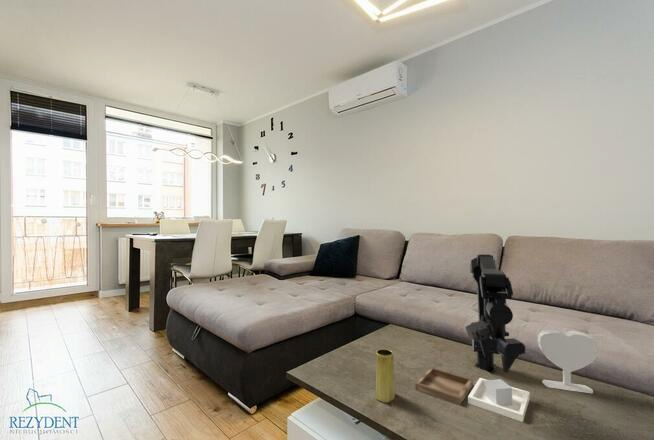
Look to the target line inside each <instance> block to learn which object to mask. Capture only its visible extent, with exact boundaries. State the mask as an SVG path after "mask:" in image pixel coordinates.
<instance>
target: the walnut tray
mask: <svg viewBox="0 0 654 440" xmlns="http://www.w3.org/2000/svg"><path fill="white" fill-rule="evenodd" d="M414 387H415V388H414V389H415V391H419V392H422V393H424V394H427V395H430V396H432V397H435V398H438V399H441V400H444V401H446V402H450V403H452V404H455V405H458V406H461V405H462V403H463V401H464V400H465V399H466V397H468V395H469V392H471V390H472V389H473V388H472V387H474V379H473V378H470V377H467V376H463V375H460V374H456V373H453V372H450V371H447V370H442V369H439V368H435V367H432V366H431V367H430V368H429V369H427V371H426V372H425V373H424V374H423V375H421V377H420V378H419V379H418V380H417V381H416V382H415V383H414Z"/></svg>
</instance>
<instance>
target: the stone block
mask: <svg viewBox="0 0 654 440" xmlns="http://www.w3.org/2000/svg"><path fill="white" fill-rule="evenodd" d="M511 387H512V386H511V385H509V384H508V383H507V382H505V381H504V380H503V379H486V397H487V398H488V399H489V400H490V401H491V402H493V403H494V404H497V405H500V406H504V405H512V388H511Z"/></svg>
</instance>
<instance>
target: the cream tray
mask: <svg viewBox="0 0 654 440" xmlns="http://www.w3.org/2000/svg"><path fill="white" fill-rule="evenodd" d="M486 380H487V379H486V378H483V377H479V378H478V380H477V381H476V383H475V384H474V385H473V388H471V390H470V393H468V395H467V404H469V405H472V406H475V407H478V408H480V409H484V410H486V411H488V412H489V411H490V412H492V413H495V414H497V415H498V414H499V415H500V416H504V417H507V418H510V419H512V420H515V421H518V422H521V423H523V422H524V420H525V417H526V412H527V409H528V406H529V403H530V396H531V395H530V393H531V392H530V391H527V390H524V389H521V388H518V387H517V388H516V387H514V386H510V387H511V388H512V405H504V406H500V405H497V404H494V403H493V402H491V401H490V400H489V399H488V398H487V397H486Z"/></svg>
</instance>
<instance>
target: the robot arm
mask: <svg viewBox="0 0 654 440" xmlns="http://www.w3.org/2000/svg"><path fill="white" fill-rule="evenodd" d="M469 263H470V265H469V270H470V271H469V272H470V273H471V277H472V278H473V280H474V282H475V283H476V288H477V289H476V292H477V293H476V294H477V310H478V311H477V312H478V313H477V317H478V318H477V319H478V321H475V322H471V323H470V324H469V325H466V326H465V330H466V332H467V335H468V337H469V339H472V340H471V345H472V351H473V352H474V353H475V352H476V362H475V364H474V365H473V366H474V367H475V368H479V369H480V370H484V371H486V372H489V373H494V372H495V370H496V369H497V364H495V355H499V354H500V355H501V363H502V370H503V372H504V373H508V372H509V370H510V369H511V367H512V366H513V364H514V362H515V361H516V360H517V359H518V357H519V356H520V355H524V354H526V352H527V351H526V349H527V347H526V345H525V344H524V343H523V342H522V341H520V340H518V339H516V338H513V337H511V338H506V337H510V332H508V331H506V330H507V327H506V325H508V324H509V323H511V322H512V320H513V317H514V313H513V311H512V309H511V308H510V306H508V305H507V300H513V295H514V291H513V288H512V282H511V281H510V278H509V277H507V274H506V273H505V272H504V271H502V270H500V269H498V268H497V264H496V263H497V262H496V260H495V259H494V256H493V255H492V254H487V253H486V254H484V253H483V254H481V253H480V254H477V255H476V257H475V258H473V259H471V260H470V262H469Z"/></svg>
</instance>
